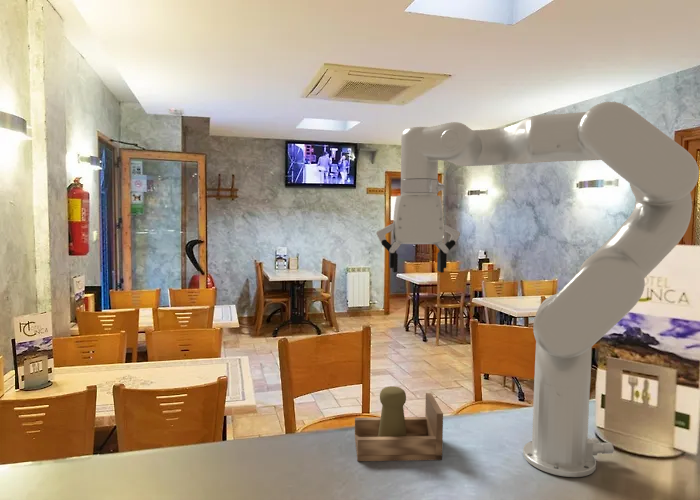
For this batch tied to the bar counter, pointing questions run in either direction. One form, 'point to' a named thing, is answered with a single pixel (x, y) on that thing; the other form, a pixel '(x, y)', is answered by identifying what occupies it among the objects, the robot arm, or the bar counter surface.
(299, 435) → the bar counter surface
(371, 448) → the walnut drawer
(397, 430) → the cork
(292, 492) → the bar counter surface
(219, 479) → the bar counter surface
